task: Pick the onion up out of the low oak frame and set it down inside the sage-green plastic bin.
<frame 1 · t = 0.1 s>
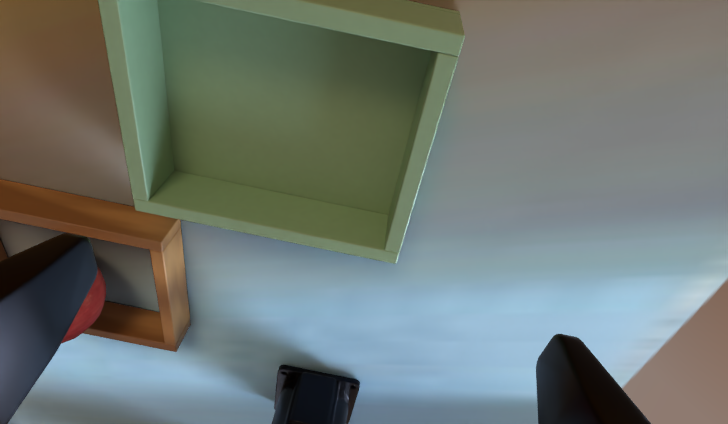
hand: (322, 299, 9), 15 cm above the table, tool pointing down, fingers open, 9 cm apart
onion: (89, 253, 31), resting in oak frame
green bin: (290, 105, 22), on the table
oak frame: (87, 255, 31), on the table
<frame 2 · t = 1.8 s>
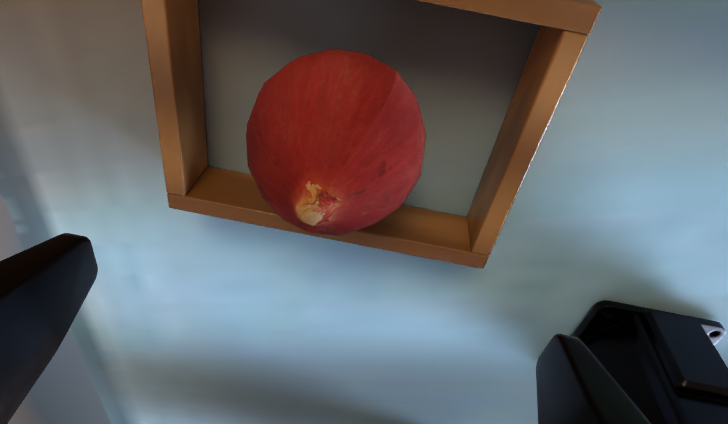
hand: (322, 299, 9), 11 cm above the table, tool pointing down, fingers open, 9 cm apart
onion: (352, 97, 18), resting in oak frame
oak frame: (351, 99, 18), on the table
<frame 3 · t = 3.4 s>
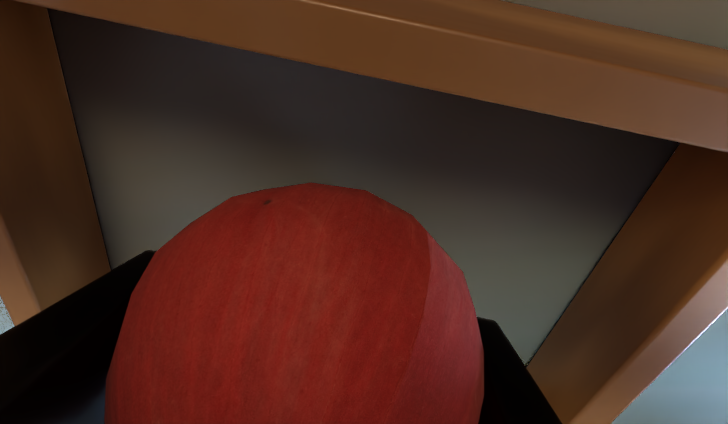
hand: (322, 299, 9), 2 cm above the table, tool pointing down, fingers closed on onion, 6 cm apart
onion: (341, 216, 11), resting in oak frame, touching gripper
oak frame: (340, 222, 11), on the table
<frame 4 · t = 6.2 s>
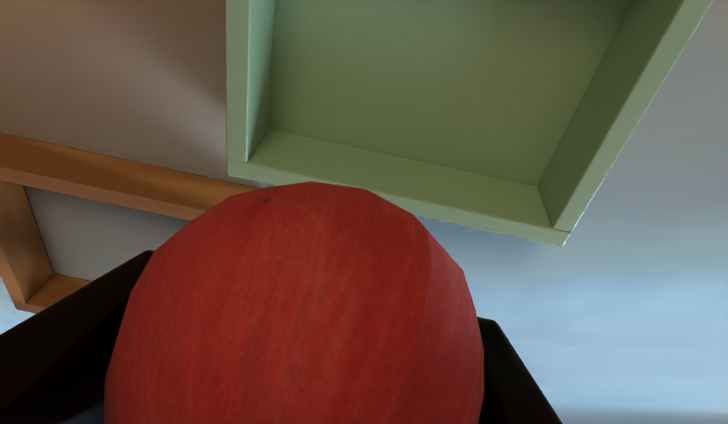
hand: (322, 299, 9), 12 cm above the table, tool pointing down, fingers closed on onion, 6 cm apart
onion: (341, 215, 11), point 9 cm above the table, touching gripper
green bin: (434, 38, 17), on the table
oak frame: (140, 239, 25), on the table
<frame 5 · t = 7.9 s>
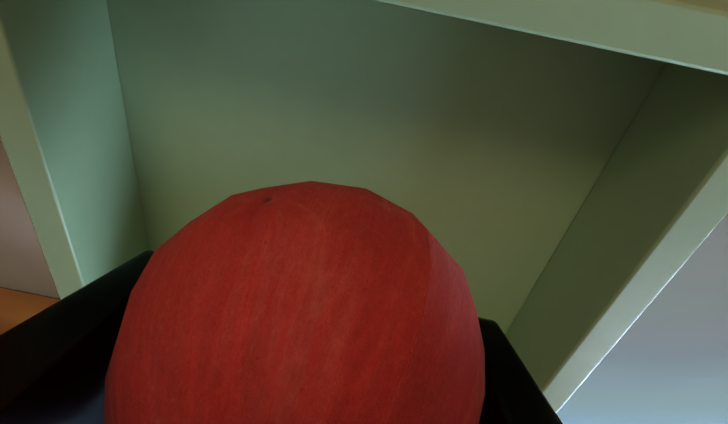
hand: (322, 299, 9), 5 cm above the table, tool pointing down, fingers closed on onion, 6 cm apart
onion: (341, 215, 11), point 2 cm above the table, touching gripper
green bin: (354, 165, 12), on the table
oak frame: (29, 362, 21), on the table
when the fingers open (3 cm above the table, at t = 9.0 s): onion stays where it is, resting on green bin.
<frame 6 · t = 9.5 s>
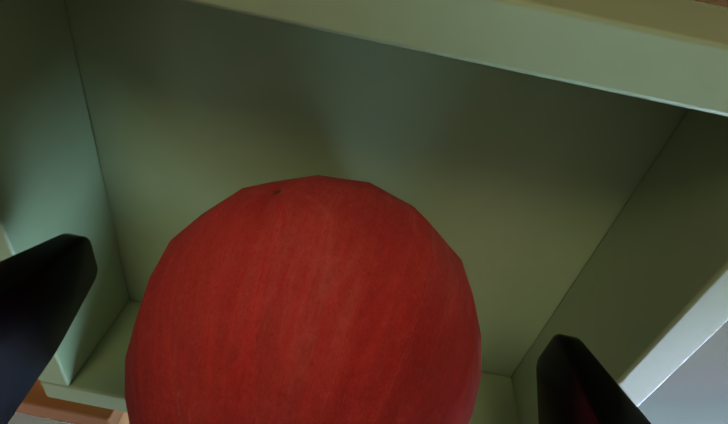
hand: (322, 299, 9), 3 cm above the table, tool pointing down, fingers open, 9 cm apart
onion: (345, 210, 11), resting on green bin
green bin: (347, 200, 11), on the table
oak frame: (7, 394, 20), on the table
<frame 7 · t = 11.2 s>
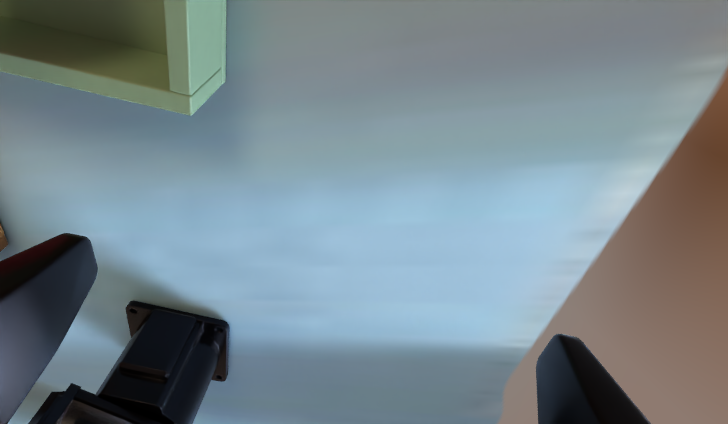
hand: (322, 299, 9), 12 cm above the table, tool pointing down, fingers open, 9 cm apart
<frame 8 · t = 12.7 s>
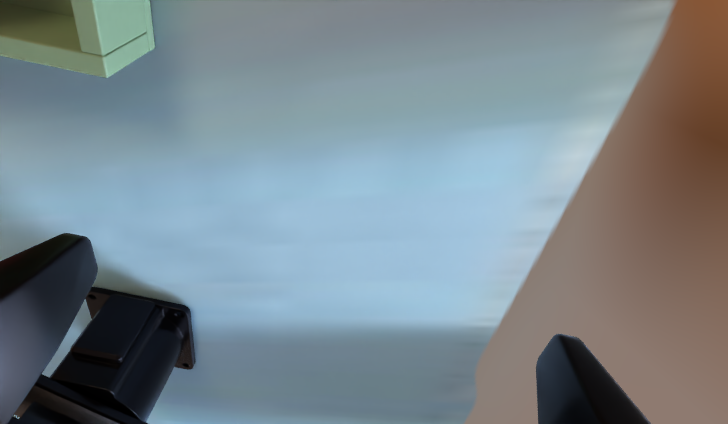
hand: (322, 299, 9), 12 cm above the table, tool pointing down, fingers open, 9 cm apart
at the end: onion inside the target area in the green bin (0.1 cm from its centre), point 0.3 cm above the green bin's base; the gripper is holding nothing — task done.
